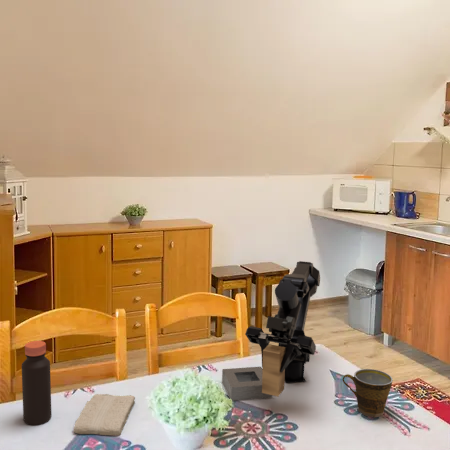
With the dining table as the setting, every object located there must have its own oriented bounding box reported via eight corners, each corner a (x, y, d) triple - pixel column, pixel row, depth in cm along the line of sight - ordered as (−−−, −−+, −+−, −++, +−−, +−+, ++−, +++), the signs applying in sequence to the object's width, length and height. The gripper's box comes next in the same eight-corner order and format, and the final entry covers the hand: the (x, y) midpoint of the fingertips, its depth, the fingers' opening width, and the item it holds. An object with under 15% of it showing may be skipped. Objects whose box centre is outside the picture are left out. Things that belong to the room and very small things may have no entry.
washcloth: (136, 402, 144) (136, 391, 143) (121, 438, 126) (121, 426, 125) (93, 400, 144) (93, 390, 143) (72, 436, 126) (72, 424, 126)
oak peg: (268, 385, 143) (269, 344, 140) (284, 389, 141) (285, 347, 138) (262, 392, 139) (262, 350, 136) (278, 396, 137) (279, 353, 134)
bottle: (25, 428, 128) (22, 351, 125) (21, 415, 134) (19, 341, 131) (53, 422, 131) (51, 347, 128) (49, 409, 137) (47, 337, 134)
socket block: (260, 378, 159) (260, 366, 158) (272, 397, 147) (272, 384, 147) (222, 381, 156) (222, 369, 156) (231, 400, 145) (231, 387, 144)
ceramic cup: (390, 406, 144) (393, 372, 143) (389, 424, 135) (392, 387, 133) (342, 397, 149) (345, 364, 147) (338, 414, 139) (340, 379, 138)
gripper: (248, 298, 143) (230, 351, 135) (314, 308, 135) (299, 365, 127) (259, 316, 151) (242, 367, 144) (321, 327, 143) (308, 381, 135)
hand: (271, 369), depth 137 cm, fingers closed on oak peg, 5 cm apart
